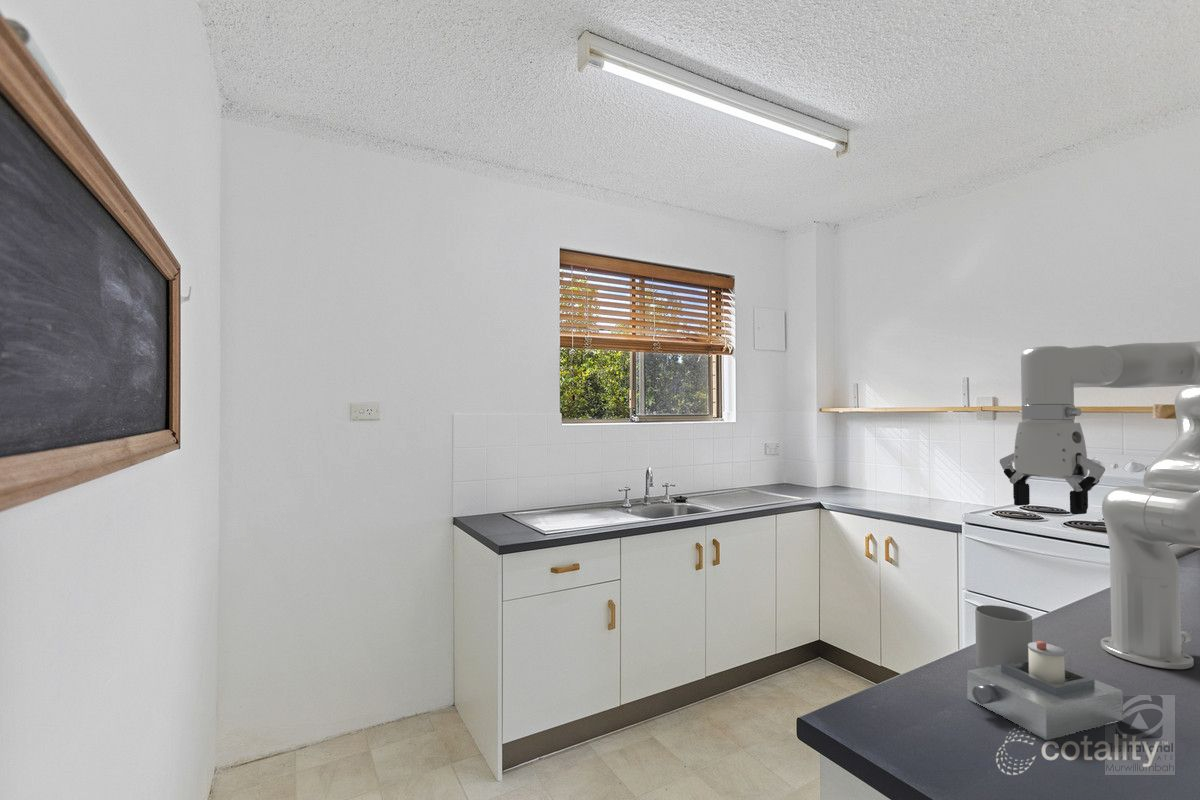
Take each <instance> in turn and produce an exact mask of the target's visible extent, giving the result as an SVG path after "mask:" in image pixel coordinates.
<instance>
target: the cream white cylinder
mask: <svg viewBox="0 0 1200 800" xmlns="http://www.w3.org/2000/svg"><path fill="white" fill-rule="evenodd" d="M1028 653H1029V674H1031V675H1033V676H1036V677H1038V678H1040V679H1043V680H1045V681H1047V682H1050V683H1052V684H1058V683H1063V682H1065V668H1066V667H1065V665H1066V663H1065V653H1066V651H1065V650H1064V649H1063V648H1061V647H1059V646H1056V645H1053V644H1050V643H1047V642H1045V641H1042V640H1037V641H1033V642H1031V643H1028Z"/></svg>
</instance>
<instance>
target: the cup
mask: <svg viewBox="0 0 1200 800" xmlns="http://www.w3.org/2000/svg"><path fill="white" fill-rule="evenodd" d="M974 612H975V616H974V617H975V666H976V665H977V666H978V667H979V668H985V667H990V666H996V665H1001V664H1004V663H1009V662H1015V661H1020V660H1026V659H1029V653H1028V643H1031V642H1034V641H1033V616H1032V615H1031V614H1029V613H1027V612H1025V611H1023V610H1020V609H1016V608H1012V607H1008V606H1004V605H1003V606H1002V605H992V604H991V605H990V604H982V605H979V606H978V605H977V606H975V610H974ZM977 666H976V667H977ZM978 667H977V668H978ZM979 668H978V669H979Z"/></svg>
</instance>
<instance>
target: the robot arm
mask: <svg viewBox="0 0 1200 800" xmlns="http://www.w3.org/2000/svg"><path fill="white" fill-rule="evenodd" d="M1020 383H1021V387H1020V388H1021V389H1020V390H1021V391H1020V392H1021V393H1020V394H1021V421H1019V422H1018V425H1017V428H1016V435H1015V440H1014V449H1013V450H1014V452H1013V453H1011V454H1009V455H1006V456H1004V457H1002V458H1000V459H999V461H998V462H999V464H1000V466H1001V467H1002V470H1003V473H1004V475H1005V476H1006V477H1007V479H1008V480H1009V482H1010V484H1012V487H1013V492H1012V493H1013V494H1012V495H1013V504H1014V506H1020V507H1021V506H1028V505H1030V504H1031V503H1030V497H1031V495H1030V484H1029V483H1027V481H1028V480H1029V479H1030V478H1031V477H1039V478H1046V479H1047V478H1051V479H1059V480H1065V481H1066V482H1067V483H1068V484H1069V485H1070V487H1071V488H1072V489H1073V490H1070V492H1069V512H1070V514H1072V515H1085V514H1087V512H1088V509H1089V492H1090V491H1092V490H1093V487H1095V486H1097V484H1099V483H1100V479H1101V478H1102V477H1103V475H1104V473H1105V472H1106V467H1105V466H1103V465H1101V464H1099V463H1098V462H1095V461H1094V460H1092V459H1089V458H1088V455H1087V454H1088V453H1087V448H1086V447H1087V446H1086V439H1085V436H1084V433H1083V432H1084V431H1083V429H1082V425H1081V423H1080V422H1075V419H1076V417H1079V416H1082V409H1081V408H1076V405H1075V390H1074V388H1109V389H1110V388H1111V389H1137V388H1161V387H1162V388H1163V387H1166V388H1167V387H1183V388H1182V389H1180V391H1179V392H1178V393H1177V395H1176V397H1175V399H1174V410H1175V411H1174V413H1175V418H1176V424H1177V433H1178V434H1177V437H1176V438H1175V440H1174V441H1173V442H1172V443H1171V444H1170V446H1169V447H1168V448H1166V449H1165V450H1164V451H1163V452H1162V453H1161V454H1160V455H1159V456H1158V457H1157V458H1156V459H1155V460H1154V461H1153V462H1152V463H1151V464H1150V466H1148V468H1147V469H1146V471H1145V472H1144V475H1143V479H1142V480H1143V486H1138V485H1137V486H1134V485H1133V486H1132V485H1131V486H1130V485H1128V486H1120V487H1117V488H1114V489H1111V490H1110V491H1109V492H1108V493H1106V495H1105V496H1104V498H1103V500H1102V503H1101V513H1102V517H1103V518H1102V519H1103V522H1104V524H1105V525H1104V526H1105V529H1106V533H1107V538H1108V545H1109V547H1108V548H1109V573H1110V574H1109V575H1110V576H1109V577H1110V579H1109V582H1110V585H1109V586H1110V626H1111V627H1110V629H1111V631H1110V632H1111V633H1110V634H1111V635H1110V636H1105V637H1102V639H1100V647H1101V648H1102V649H1103V650H1104V651H1106V652H1107V653H1109V654H1111V655H1113V656H1115V657H1118V658H1120V659H1123V660H1126V661H1129V662H1133V663H1136V664H1139V665H1142V666H1143V665H1144V666H1148V667H1154V668H1160V669H1167V670H1186V669H1191V668H1192V667H1194V662H1195V661H1194V660H1195V659H1194V658H1193V657H1192V656H1191V655H1190V654H1188V653H1187V652H1185V651H1183V650H1182V644H1184V643H1188V642H1190V641H1191V640H1192V636H1191V634H1190V633H1188V632H1186V631H1185V630H1184V631H1183V630H1182V625H1181V621H1182V620H1181V618H1182V617H1181V579H1180V575H1181V574H1180V572H1181V571H1180V565H1179V564H1180V563H1179V561H1178V559H1177V557H1176V555H1175V553H1174V552H1173V550H1172V549H1171V548H1170V546H1169V544H1174V545H1180V546H1185V547H1190V548H1196V549H1200V341H1199V340H1197V341H1184V342H1181V341H1180V342H1135V343H1125V344H1119V345H1118V344H1117V345H1111V346H1106V345H1096V344H1095V345H1085V346H1074V347H1068V346H1062V345H1049V346H1048V345H1047V346H1046V345H1045V346H1035V347H1029V348H1026V349H1024V350H1023V351H1022V353H1021V356H1020ZM1013 463H1014V466H1013ZM1088 471H1089V473H1088ZM1168 543H1169V544H1168Z"/></svg>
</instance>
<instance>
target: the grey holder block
mask: <svg viewBox="0 0 1200 800" xmlns="http://www.w3.org/2000/svg"><path fill="white" fill-rule="evenodd" d="M966 677H967V678H966V679H967V680H966V682H967V685H966V687H967V689H966V690H967V695H966V698H967V700H969V701H970V702H972V703H975V704H976V703H977V704H976V705H978V704H979V705H978V706H980V705H981V706H983V707H985V708H987V709H989V710H991V711H993V712H995V713H997V714H999V715H1001V716H1003V717H1005V718H1007V719H1008V720H1010V721H1012V722H1014V723H1015V724H1014V723H1013V724H1014V725H1016V724H1018V725H1019V726H1018V725H1017V726H1018V727H1020V726H1021V727H1020V728H1022V727H1023V728H1022V729H1024V728H1025V729H1024V730H1026V729H1027V730H1026V731H1028V732H1029V733H1031V732H1032V733H1031V734H1034V735H1036V736H1037V737H1039V738H1041V739H1043V740H1046V741H1050V740H1053V739H1058V738H1061V737H1066V736H1070V735H1073V734H1077V733H1076V732H1078V733H1080V732H1079V731H1082V732H1084V731H1083V730H1086V731H1088V730H1087V729H1090V730H1092V729H1091V728H1094V729H1096V728H1095V727H1098V726H1102V725H1105V724H1107V723H1110V722H1115V721H1118V720H1123V721H1124V710H1123V709H1124V704H1123V703H1124V700H1123V695H1124V693H1123V692H1124V691H1123V690H1122V689H1119V688H1117V687H1114V686H1112V685H1109V684H1106V683H1105V682H1101V681H1099V680H1097V679H1093V678H1092V677H1089V676H1087V675H1085V674H1081V673H1079V672H1076V671H1074V670H1071V669H1068V668H1066V667H1065V682H1063V683H1058V684H1052V683H1050V682H1047V681H1045V680H1043V679H1040V678H1038V677H1036V676H1033V675H1031V674H1029V659H1026V660H1020V661H1015V662H1009V663H1004V664H1001V665H996V666H990V667H985V668H976V669H975V668H974V669H969V670H967V671H966ZM981 706H980V707H981ZM983 707H982V708H983ZM985 708H984V709H985ZM987 709H986V710H987ZM989 710H988V711H989ZM991 711H990V712H991ZM993 712H992V713H993ZM995 713H994V714H995ZM997 714H996V715H997ZM999 715H998V716H999ZM1001 716H1000V717H1001ZM1003 717H1002V718H1003ZM1005 718H1004V719H1005ZM1008 720H1007V721H1008ZM1010 721H1009V722H1010ZM1012 722H1011V723H1012ZM1102 727H1103V726H1102ZM1098 728H1099V727H1098ZM1069 734H1070V735H1069ZM1065 735H1066V736H1065Z"/></svg>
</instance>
